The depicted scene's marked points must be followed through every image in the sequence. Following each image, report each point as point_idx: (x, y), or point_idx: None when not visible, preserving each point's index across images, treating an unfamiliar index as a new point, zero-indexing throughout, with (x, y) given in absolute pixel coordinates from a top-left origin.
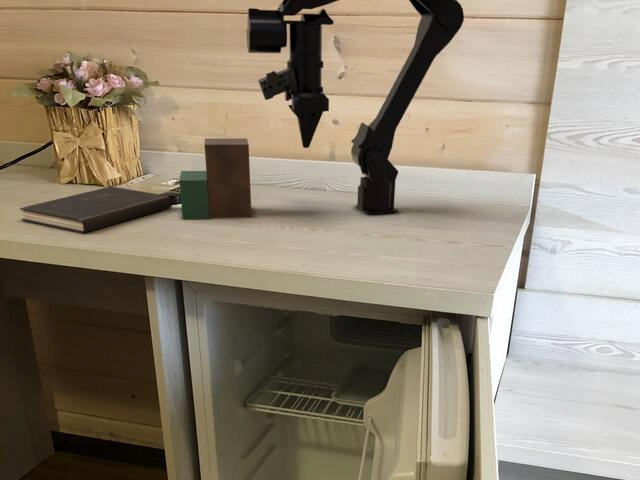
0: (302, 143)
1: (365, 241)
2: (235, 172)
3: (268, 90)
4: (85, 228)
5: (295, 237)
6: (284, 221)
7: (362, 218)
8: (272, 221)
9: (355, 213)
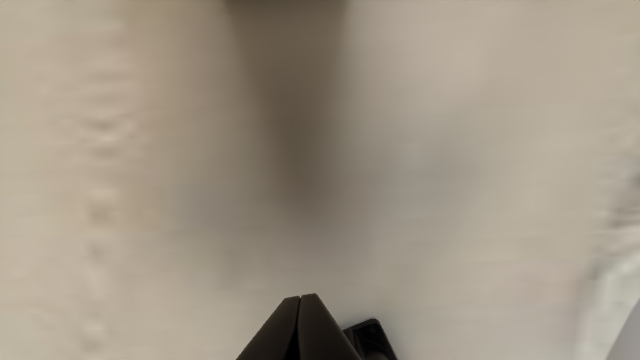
0: (284, 309)
1: (30, 342)
2: None
3: None
4: None
5: (3, 171)
6: (182, 122)
7: None
8: (173, 82)
9: None
